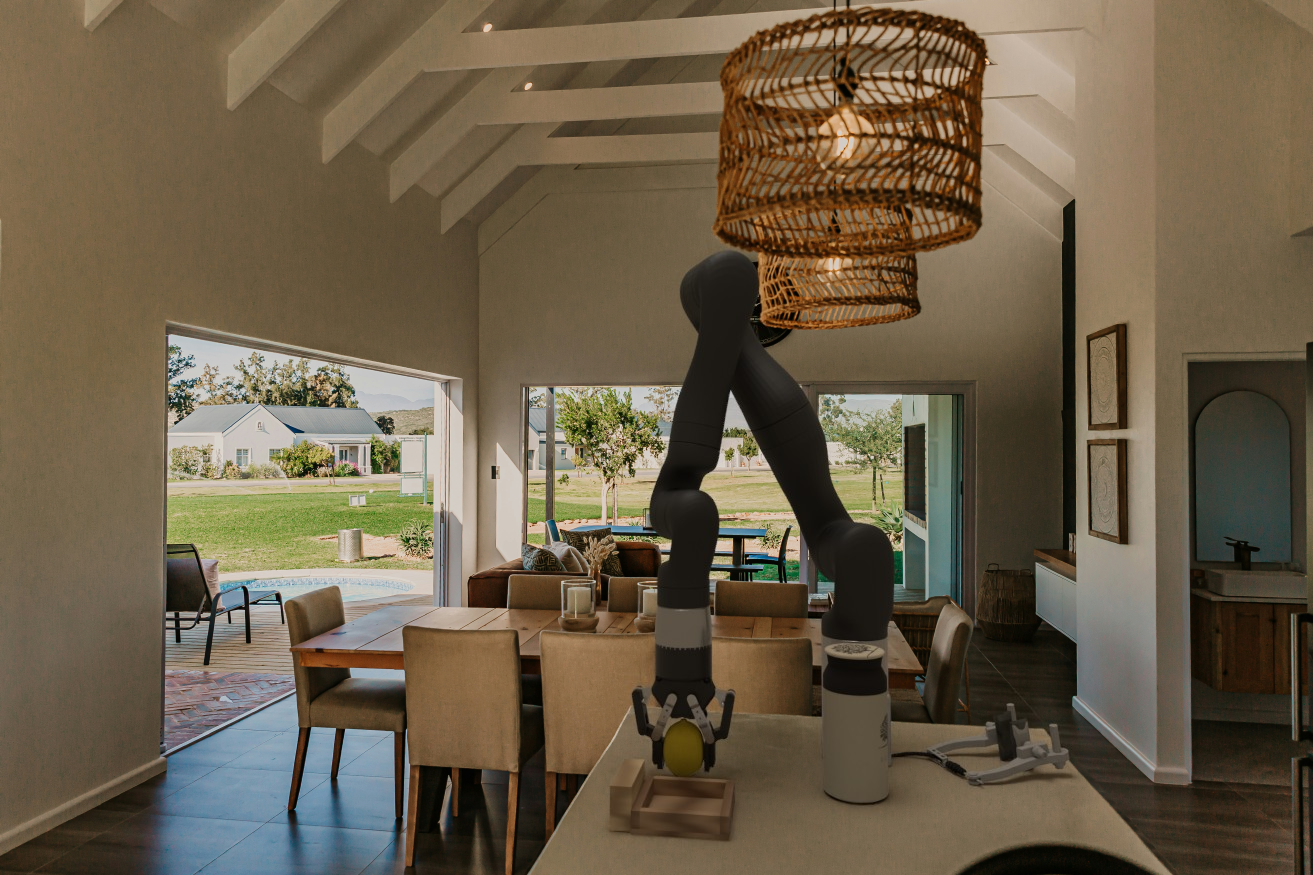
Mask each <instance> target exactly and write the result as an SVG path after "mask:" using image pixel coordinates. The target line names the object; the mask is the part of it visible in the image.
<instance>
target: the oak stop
mask: <svg viewBox="0 0 1313 875" xmlns="http://www.w3.org/2000/svg"><path fill="white" fill-rule="evenodd" d="M645 761H646V760H645V759H643V758H641V759H639V758H624V759H623V761H622V763H621V765H620V766H619V769H618V770H617V772H616V774H615V776H614V777H613V779H612V780H611V783H610V784H609V831H610V832H611V831H612V832H626V833H627V832H628V833H631V809H632V807H633V805H634V803H635V800H636V798H637V796H638V794H639V792H640V789H641V787H642V785H643V783H644V780H645V778H646V777H645V775H646V774H645V772H646V771H645V769H646V768H645Z"/></svg>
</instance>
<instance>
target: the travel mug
mask: <svg viewBox="0 0 1313 875" xmlns="http://www.w3.org/2000/svg"><path fill="white" fill-rule="evenodd" d="M824 651H825V653H826V654H827V659H828V664H827V666H826V668H825V670H824V672H823V755H822V757H823V758H822V759H823V764H822V765H823V790H824V791H825V793H827V794H828V795H829V796H831V797H833V798H835V799H837V800H840V801H843V802H846V803H852V804H873V803H876V802H878V801H882V800H883V799H885V798H886V797H888V795H889V765H888V714H887V676H886V674H885V672H884V670H883V668H882V666H881V664H882V658H883V656H884V654H885V651H884V650H883V649H881V648H879V647H876V646H872V645H866V644H854V643H843V644H833V645H829V646H827V647H826V648H825V649H824Z"/></svg>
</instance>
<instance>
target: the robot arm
mask: <svg viewBox="0 0 1313 875" xmlns="http://www.w3.org/2000/svg"><path fill="white" fill-rule="evenodd" d="M759 293H760V278H759V272H758V270H757V268H756V266H755V264H754V262H753V261H752V260H751V259H750V258H749V257H748V256H746V255H745V254H744V253H741V252H739V251H736V250H732V249H730V250H729V249H727V250H725V249H724V250H720V251H717V252H715V253H713V254H711V255H709V256H707V257H706V258H704V259H703V260H702V261H700V262H699V263H698V264H696V265H695V266H693V267H691V268H690V269H688V271H687V272H686V273H685V274H684V276H683V278H682V279H681V282H680V287H679V299H680V303H681V305H682V309H683V311H684V314H685V315H686V317H687V318H688V320H689V322H690V324H691V325H692V326H693V328H694V329H695V331H696V333H697V334H698V335H697V341H696V345H695V348H694V352H693V357H692V358H691V361H690V365H689V368H688V370H687V372H686V376H685V378H684V380H683V383H682V384H681V388H680V391H679V394H678V397H677V400H676V405H675V408H674V412H673V417H672V422H671V427H670V428H671V429H670V433H669V434H670V435H669V439H668V447H667V453H666V456H665V459H664V461H663V464H662V466H661V468H660V470H659V473H658V476H657V479H656V481H655V483H654V487H653V489H652V492H651V496H650V500H649V507H648V508H649V510H648V516H649V521H650V522H649V523H650V526H651V527H652V530H653V531H654V532H655V533H656V535H658V536H660V537H661V538H663V539H665V540H669V541H671V543H670V550H669V557H668V560H666V561H663V562H662V563H660V565H659V567H658V569H657V570H658V571H657V578H656V585H657V586H656V590H657V591H656V605H657V606H656V616H655V621H654V622H655V624H654V625H655V627H654V628H655V630H654V633H653V634H654V635H653V636H654V644H655V645H654V646H655V651H654V653H655V655H654V656H655V658H654V659H655V662H654V663H655V664H654V666H655V668H654V672H655V673H654V682H653V684H652V685H649V686H641V685H636V686H635V687H634V689H633V690H632V692H631V699H632V705H633V711H634V716H635V722H636V728H637V732H638V734H639V736H642V737H643V736H645V737H648V738H650V740H651V744H652V749H651V751H652V752H651V753H652V754H651V755H652V756H651V757H652V758H651V761H652V764H653V765H656V769H657V770H663V769H664V767H665V765H666V763H665V760H664V756H663V743H664V738H665V736H664V731H665V728H666V725H667V724H668V721H669V719H670V718H671V719H676V720H677V719H683V718H685V719H687V720H695V722H696V723H697V727H698V728H699V729H700V731H701V733H702V736H703V739H704V761H703V772H705V773H710V771H711V768H714V767H715V764H716V759H717V758H716V754H717V750H716V749H717V748H716V747H717V745H716V743H717V742H718V741H720V740H727V739H728V736H729V733H730V728H731V722H732V716H733V711H734V705H735V701H736V700H735V699H736V694H737V693H736V691H735V689H733V688H730V689H728V690H725V689H721V688H717V686H716V685H715V684H714V681H713V623H712V622H713V621H712V613H711V594H710V593H711V589H710V588H711V586H710V585H711V584H710V583H711V581H710V574H711V569H712V565H713V563H714V559H715V554H716V550H717V545H718V541H719V540H718V539H719V533H720V514H719V510H718V507H717V504H716V502H715V500H714V499H713V497H712V496H711V495H710V494H709V493H707V492H706V491H703V490H701V485H702V483H703V481H704V480H703V479H704V478H705V477H706V475H708V474H710V473H711V472H714V470H716V468H717V466H718V462H719V458H720V454H721V449H722V443H723V442H722V441H723V435H724V432H725V431H724V430H725V423H726V417H727V412H728V411H727V410H728V407H729V406H728V405H729V400H730V394H732V395H733V398H734V399H735V402H736V404H737V405H738V407H739V409H740V412H741V413H742V415H743V418H744V420H745V422H746V425H747V426H748V428H749V430H750V432H751V434H752V436H753V438H754V440H755V443H756V444H757V446H758V449H760V452H761V453H762V455H763V457H764V459H765V460H766V462H767V464H768V467H769V468H770V470H771V472H772V474H773V476H774V477H775V480H776V482H777V484H778V485H779V487H780V489H781V491H782V492H783V495H784V496H785V498H786V500H787V502H788V503H789V505H790V507H791V509H792V510H791V511H792V512H793V514H794V517H795V519H796V522H797V524H798V527H799V529H800V532H801V534H802V537H803V539H804V541H805V545H806V547H807V550H808V552H809V555H810V558H811V561H812V562H813V565H815V568H816V570H817V571H818V572H819V574H821V576H823V577H824V578H826V579H827V580H828V581H829V582H832V583H833V584H834V586H833V600H832V601H833V603H832V605H831V608H830V609H829V610H827V611H825V612H824V613H823V614H822V616H821V619H820V623H821V624H820V630H821V631H820V633H821V643H820V644H821V648H820V649H821V746H822V749H821V750H822V756H823V672H824V670H825V668H826V666H827V664H828V659H827V654H826V653H825V651H824V649H825V648H826V647H827V646H829V645H833V644H843V643H854V644H866V645H872V646H876V647H879V648H881V649H883V650H884V651H885V654H884V656H883V658H882V664H881V666H882V668H883V670H884V672H885V674H886V676H887V714H888V767H889V766H892V757H891V754H892V716H891V714H892V708H891V704H892V703H891V701H892V699H891V695H890V692H889V652H888V651H889V638H888V636H889V635H888V633H889V625H890V622H891V619H892V617H893V614H894V601H895V600H894V599H895V580H896V579H895V577H896V576H895V575H896V573H895V572H896V571H895V570H896V569H895V568H896V566H895V564H896V561H895V553H894V552H895V551H894V547H893V545H892V542H891V539H890V538H889V536H888V535H887V533H886V532H885V531H884V530H883V529H882V528H880V527H878V526H876V525H874V524H871V523H870V524H869V523H865V522H857V521H854V520H853V518H852V517H851V516H850V514H849V512H848V511H847V509H846V507H845V506H844V504H843V502H842V500H841V499H840V496H839V495H838V493H837V491H836V489H835V486H834V483H833V481H832V477H831V476H832V475H831V471H830V462H829V461H830V460H829V459H830V458H829V454H828V453H829V452H828V450H829V449H828V445H827V438H826V436H825V432H824V429H823V426H822V424H821V422H820V420H819V418H818V416H817V414H816V412H815V410H814V408H813V406H812V404H811V402H810V400H809V398H808V397H807V395H806V393H805V391H804V389H803V388H802V387H801V385H799V384H800V383H798V382H797V380H796V379H795V378H794V377H793V375H791V374H790V373H789V372H788V370H786V369H785V368H784V367H783V366H782V365H781V364H780V363H779V362H778V361H777V360H775V359H774V357H773V356H772V355H771V354H770V353H769V352H768V351H767V350H766V349H765V347H764V346H763V345H762V343H761V341H760V339H758V336H757V335H756V333H755V331H754V328H753V326H752V324H751V323H750V322H751V318H752V316H753V313H754V311H755V307H756V303H757V301H758V296H759ZM651 696H653V697H654V699H655V700H656V702H657V703H658V705H659V706H660V708H661V711H660V713H659V715H658V716H659V717H658V719H657V721H656V723H655V724H652V723H650V718H649V713H648V708H647V704H648V703H649V702H650V700H651V699H650V697H651ZM714 698H715V699H716V700H717V703H718V706H719V707H720V708H722V713H721V714H722V715H721V720H720V726H718V727H714V725H713V722H712V720H711V715H710V714H709V711H708V706H709V704H710V703H711V702H712V700H713V699H714Z"/></svg>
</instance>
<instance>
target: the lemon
mask: <svg viewBox="0 0 1313 875" xmlns="http://www.w3.org/2000/svg"><path fill="white" fill-rule="evenodd" d="M664 737H665V738H664V743H663V756H664V760H665V766H666V768H668V770H669V771H670V772H671V773H672V774H674V775H676V776H677V777H687V778H690V777H691V776H693V775H694V774H696V773H697V772H698V771H699V770H700V768H702V766H703V765H704V742H705V738H704V736H703V734H702V731H701V729H700V728H699V726H698V725H696V724H695V723H693V722H692V721H690V720H688V719H687V718H684V717H682V718H680V720H678V721H676V722H674V723H673V724H672V725H670V726H669V727H668V729H667V730H666V733H665V736H664Z"/></svg>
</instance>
